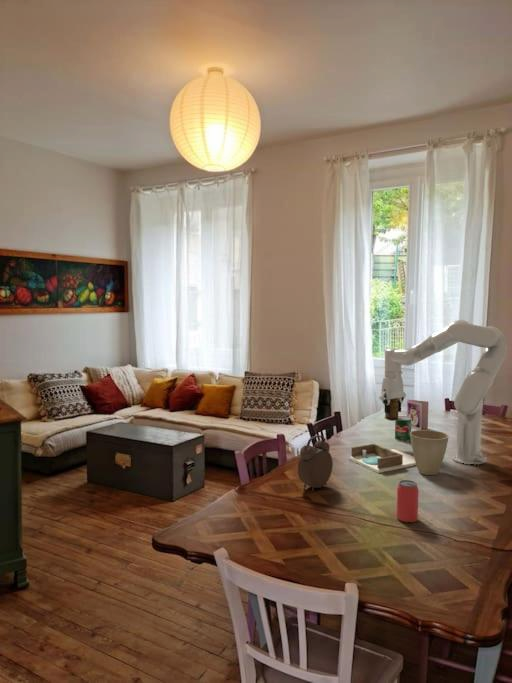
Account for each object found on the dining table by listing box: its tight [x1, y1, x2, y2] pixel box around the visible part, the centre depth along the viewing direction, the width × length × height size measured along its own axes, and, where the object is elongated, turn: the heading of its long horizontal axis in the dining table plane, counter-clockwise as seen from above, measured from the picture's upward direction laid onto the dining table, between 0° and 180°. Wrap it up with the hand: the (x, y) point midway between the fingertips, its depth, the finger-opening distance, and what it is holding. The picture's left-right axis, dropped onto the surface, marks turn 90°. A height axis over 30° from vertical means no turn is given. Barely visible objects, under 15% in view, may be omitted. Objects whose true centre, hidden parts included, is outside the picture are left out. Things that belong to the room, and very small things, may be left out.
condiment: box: [381, 398, 403, 422], centre depth 239 cm, size 7×8×12 cm
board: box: [348, 448, 417, 474], centre depth 220 cm, size 19×26×4 cm
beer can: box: [396, 479, 420, 523], centre depth 163 cm, size 7×7×12 cm
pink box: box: [406, 399, 430, 430], centre depth 276 cm, size 11×7×15 cm, turn 25°
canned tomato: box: [394, 415, 412, 442], centre depth 254 cm, size 8×8×11 cm
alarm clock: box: [297, 434, 333, 492], centre depth 189 cm, size 15×7×20 cm, turn 134°
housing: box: [351, 443, 403, 469], centre depth 217 cm, size 18×13×4 cm
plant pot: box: [410, 429, 449, 476], centre depth 206 cm, size 15×15×16 cm
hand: (392, 411), depth 239 cm, fingers closed on condiment, 6 cm apart
